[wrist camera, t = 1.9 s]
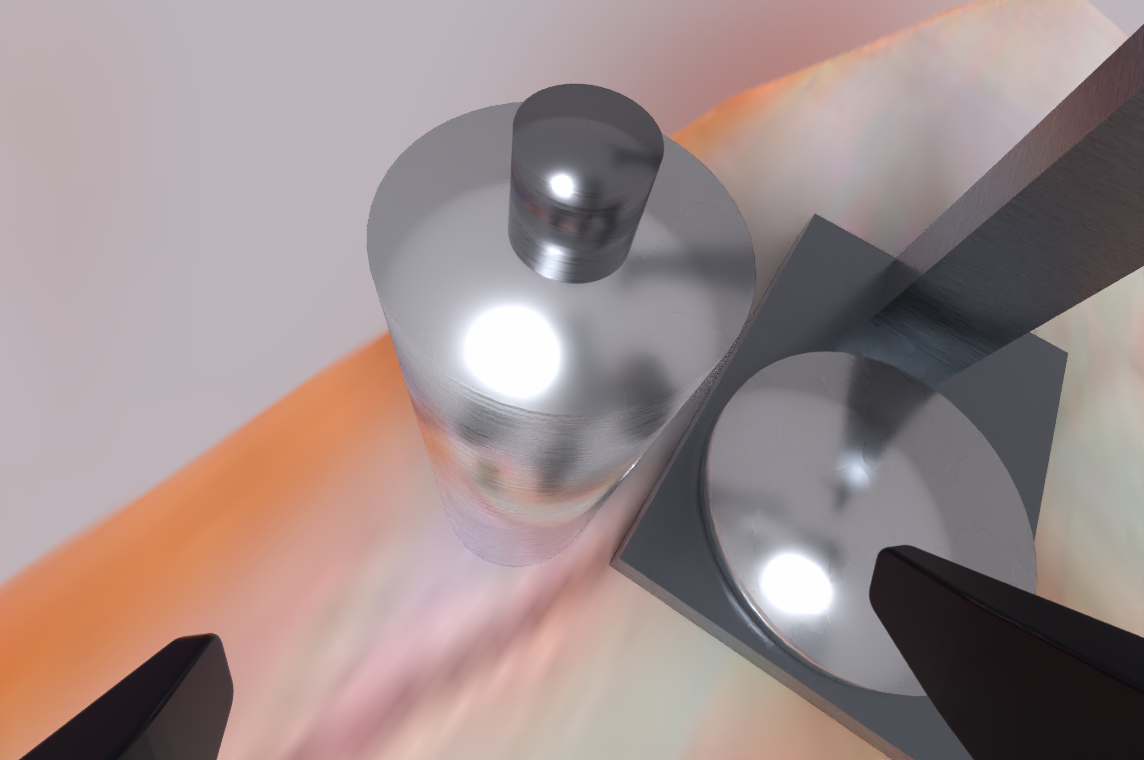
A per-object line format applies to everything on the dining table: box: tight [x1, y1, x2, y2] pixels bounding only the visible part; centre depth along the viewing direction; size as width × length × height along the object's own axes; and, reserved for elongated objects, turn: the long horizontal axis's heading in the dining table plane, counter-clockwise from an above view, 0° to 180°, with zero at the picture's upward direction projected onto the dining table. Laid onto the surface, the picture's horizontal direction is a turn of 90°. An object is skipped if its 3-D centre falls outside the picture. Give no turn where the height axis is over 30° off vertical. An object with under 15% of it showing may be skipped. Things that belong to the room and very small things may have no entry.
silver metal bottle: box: [367, 84, 756, 567], centre depth 12 cm, size 5×5×14 cm
